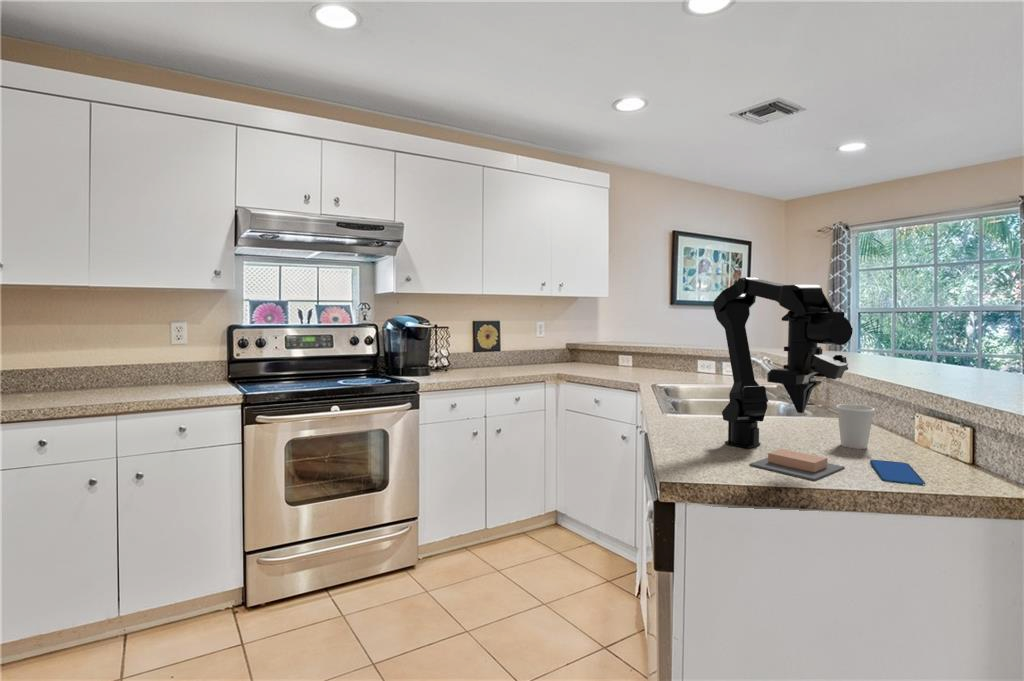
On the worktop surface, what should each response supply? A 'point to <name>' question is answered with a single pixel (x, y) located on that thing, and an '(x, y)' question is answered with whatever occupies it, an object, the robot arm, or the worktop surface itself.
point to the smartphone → (896, 472)
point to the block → (797, 460)
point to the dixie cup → (854, 425)
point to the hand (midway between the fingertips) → (800, 412)
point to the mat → (797, 470)
